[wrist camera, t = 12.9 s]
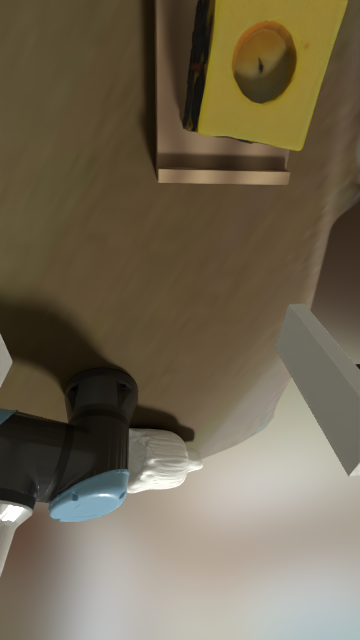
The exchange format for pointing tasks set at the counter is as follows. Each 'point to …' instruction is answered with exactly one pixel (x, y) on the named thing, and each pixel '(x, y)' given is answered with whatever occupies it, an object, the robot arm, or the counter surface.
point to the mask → (159, 460)
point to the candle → (259, 68)
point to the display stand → (171, 139)
